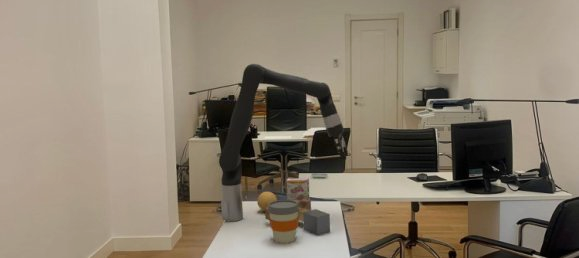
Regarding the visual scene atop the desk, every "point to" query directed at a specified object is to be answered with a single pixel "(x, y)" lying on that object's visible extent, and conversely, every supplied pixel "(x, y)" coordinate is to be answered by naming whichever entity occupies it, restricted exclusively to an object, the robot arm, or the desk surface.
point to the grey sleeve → (316, 222)
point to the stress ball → (265, 200)
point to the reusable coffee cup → (284, 220)
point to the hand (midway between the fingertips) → (345, 158)
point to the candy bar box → (297, 189)
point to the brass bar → (301, 213)
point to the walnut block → (301, 203)
